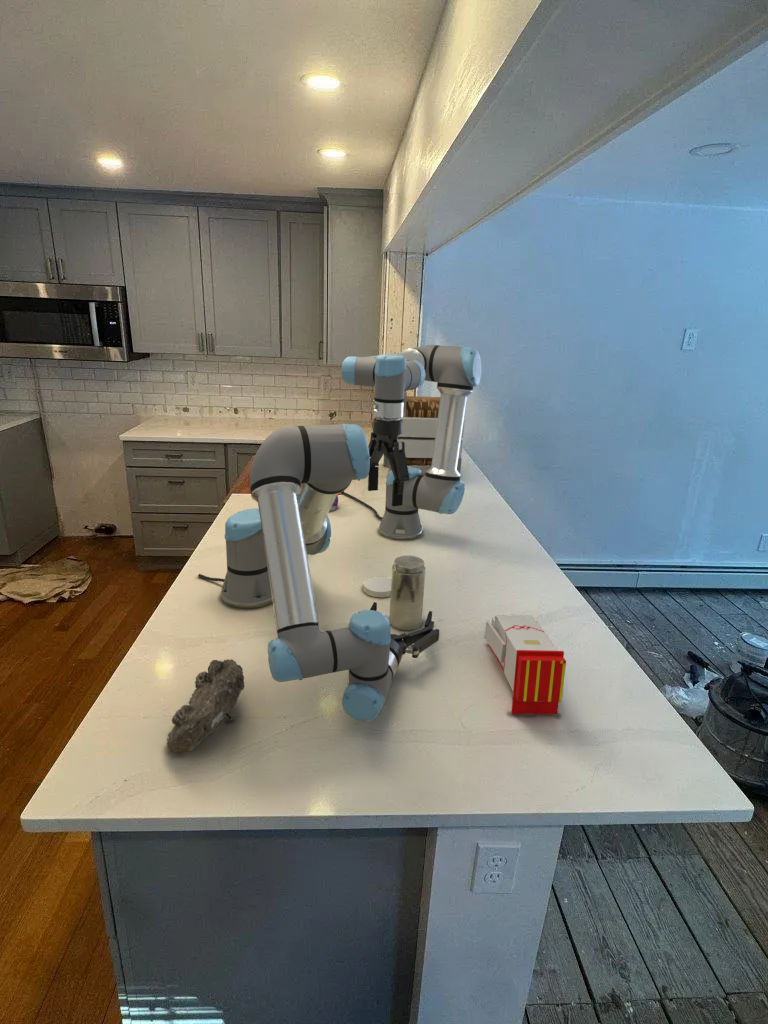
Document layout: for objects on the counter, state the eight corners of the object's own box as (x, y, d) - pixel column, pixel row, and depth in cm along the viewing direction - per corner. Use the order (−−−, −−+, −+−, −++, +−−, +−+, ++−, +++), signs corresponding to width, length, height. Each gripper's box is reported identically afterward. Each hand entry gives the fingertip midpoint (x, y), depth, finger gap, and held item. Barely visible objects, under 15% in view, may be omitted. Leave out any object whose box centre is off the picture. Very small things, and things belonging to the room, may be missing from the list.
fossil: (192, 660, 117) (244, 628, 112) (224, 691, 120) (276, 661, 115) (142, 746, 98) (202, 712, 93) (182, 779, 101) (242, 748, 96)
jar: (428, 625, 143) (432, 564, 137) (401, 633, 139) (405, 571, 133) (409, 610, 149) (412, 552, 144) (383, 618, 145) (385, 558, 139)
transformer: (382, 463, 289) (386, 382, 275) (445, 464, 293) (451, 384, 279) (390, 482, 257) (394, 392, 243) (460, 483, 261) (468, 394, 247)
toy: (530, 600, 137) (574, 657, 108) (525, 651, 140) (567, 720, 111) (480, 599, 137) (511, 656, 107) (477, 651, 139) (506, 719, 110)
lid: (366, 580, 165) (367, 574, 164) (398, 584, 163) (399, 578, 163) (360, 595, 156) (360, 589, 156) (393, 599, 155) (394, 593, 154)
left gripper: (323, 665, 121) (352, 617, 140) (439, 687, 116) (452, 633, 135) (323, 635, 118) (353, 589, 138) (441, 656, 113) (455, 605, 132)
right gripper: (353, 410, 152) (351, 485, 159) (399, 428, 132) (395, 514, 139) (378, 409, 156) (375, 483, 163) (426, 426, 135) (421, 510, 142)
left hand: (402, 611), depth 136 cm, fingers open, 13 cm apart
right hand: (384, 497), depth 151 cm, fingers open, 13 cm apart
